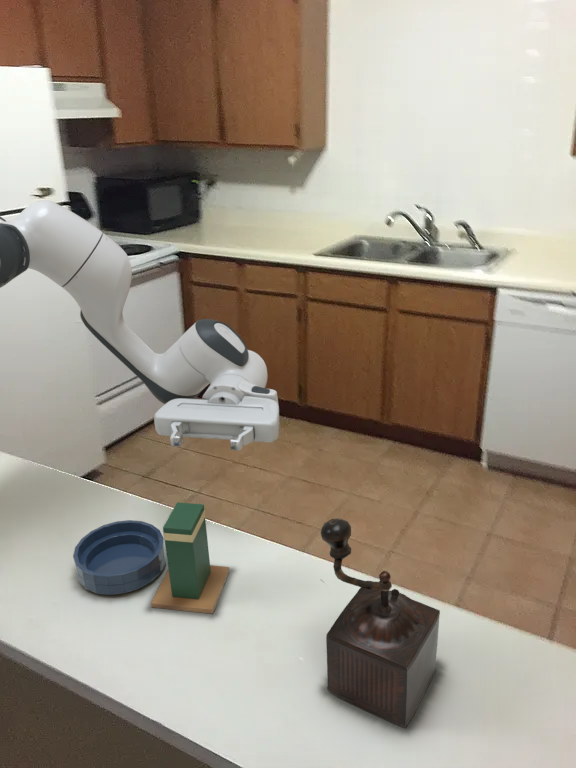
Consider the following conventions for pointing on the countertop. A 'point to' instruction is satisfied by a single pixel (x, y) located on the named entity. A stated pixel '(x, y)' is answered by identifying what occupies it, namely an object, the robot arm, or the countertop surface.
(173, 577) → the tea packet
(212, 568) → the cork mat
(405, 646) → the manual coffee grinder
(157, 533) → the bowl
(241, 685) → the countertop surface
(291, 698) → the countertop surface
